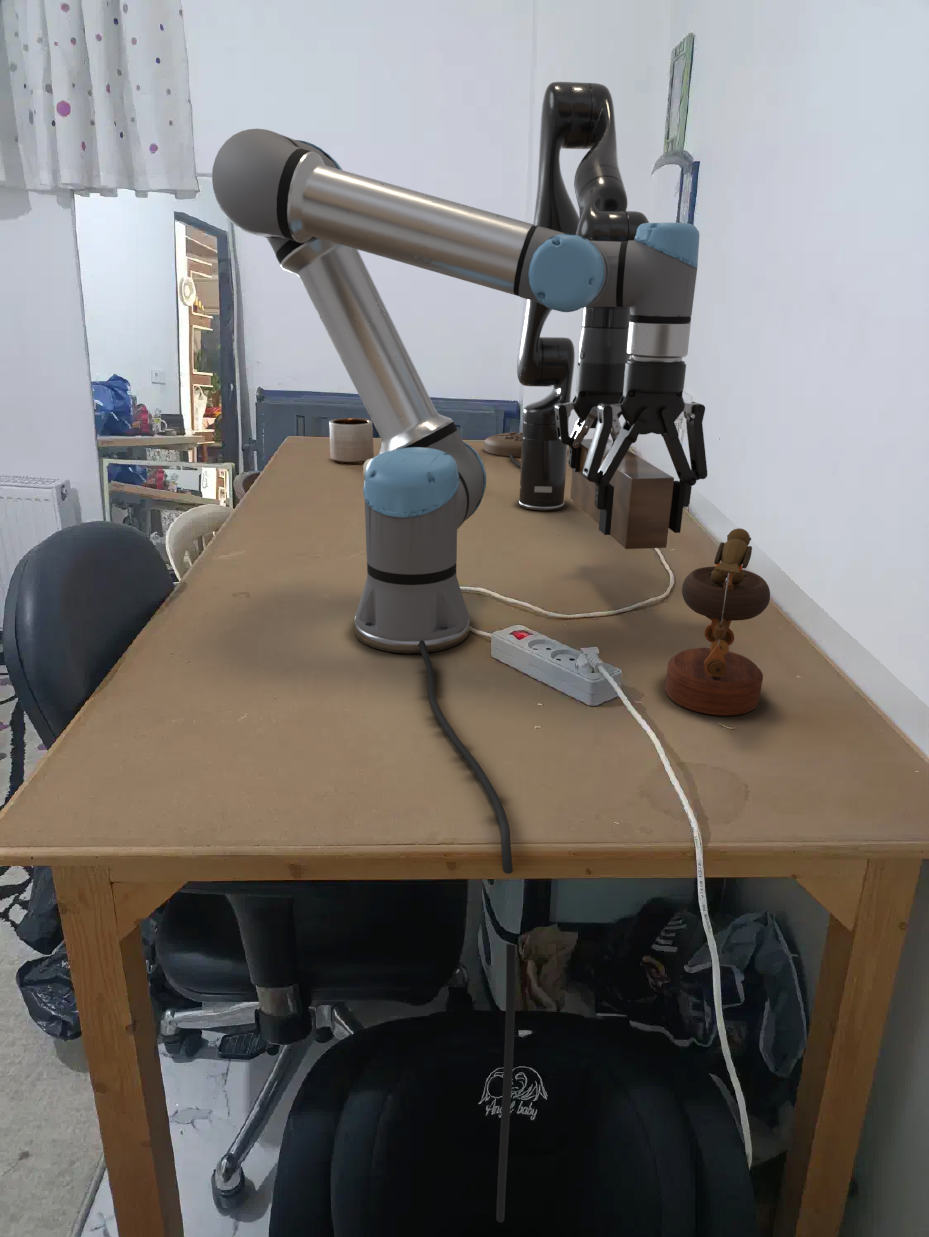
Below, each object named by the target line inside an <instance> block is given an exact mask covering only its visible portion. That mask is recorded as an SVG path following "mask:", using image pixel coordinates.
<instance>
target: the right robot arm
mask: <svg viewBox="0 0 929 1237" xmlns="http://www.w3.org/2000/svg"><path fill="white" fill-rule="evenodd" d="M614 106H615V105H614V101H613V97H612V94H611V92H610V89H609V88H608V87H607V86H606V85H604V84H601V83H596V82H579V81H578V82H576V81H553V82H550V83H549V85H548V86H547V87H546V89H545V92H544V95H543V99H542V104H541V114H540V127H539V128H540V129H539V148H538V150H539V151H538V170H537V172H538V173H537V187H536V188H537V189H536V199H535V206H534V214H533V222H532V224H533V225H535V226H539V227H544V228H548V229H551V230H555V231H559V232H562V233H569V234H574V235H578V236H580V237H584V238H586V239H588V240H589V241H613V242H622V241H631V240H635V236H636V233H637V228H638V227H639V225H641V224H644V223H650V221H649V219H648V218H647V216H646V215H645V214H644V213H642V212H641V211H635V210H628V204H629V202H628V195H627V191H626V187H625V184H624V181H623V178H622V177H623V176H622V174H621V171H620V166H619V158H618V141H617V140H618V139H617V130H616V118H615V117H616V116H615V107H614ZM563 149H565V150H588V151H587V152H586V153H585V155H584V156H583V157H582V158H581V160H580V162H579V164H578V165H577V167H576V170H575V174H574V178H573V179H574V180H573V182H574V183H573V186H574V194H575V198H576V202H577V206H578V211H579V214H578V211H577V210H576V207H575V204H574V203H573V201H572V199H571V197H570V195H569V192H568V190H567V187H566V183H565V180H564V178H563V174H562V170H561V160H560V159H561V158H560V155H561V150H563ZM552 311H553V310H552V309H549V308H547V307H546V306H545V305H543V304H540V303H538V302H535V301H532V300H528V299H525V307H524V314H523V320H522V327H521V333H520V338H519V344H518V352H517V360H516V374H517V376H516V377H517V380H518V381H519V383H520V384H521V385H522V386H525V387H542V388H543V387H545V388H546V387H548V388H549V387H552V390H551V391H550V393H549V394H548V395H546V396H545V397H543V398H542V399H540V400H537V401H534V402H531V403H528V404H527V405H525V406H524V407H523V410H522V423H521V424H522V426H521V433H522V449H521V457H520V462H518V461H517V460H516V459H515V457H513V454H510V456H509V458H510V459H511V461H512V462H513V463H514V464H515V465H516V466H518V467H519V468H520V474H519V480H520V481H519V496H518V497H519V498H518V506H520V507H521V508H523V509H527V510H530V511H540V512H541V511H542V512H543V511H545V512H546V511H547V512H548V511H550V512H551V511H557V510H561V509H563V508H564V507H565V489H566V475H567V474H566V473H567V464H568V467H570V468H571V471H572V470H573V471H574V472H579V470H580V457H581V448H579V447H580V445H581V443H582V441H583V439H585V436H587V435H588V433H589V431H590V429H596V425H597V422H598V410H597V407H598V405H599V404H600V403H605V404H612V403H619V401H620V400H621V398H622V396H623V386H624V375H625V363H626V362H627V360H628V359H631V355H628V354H627V342H628V330H629V317H630V307H592V306H585V307H583V308H582V318H581V319H582V320H581V330H580V335H579V340H578V341H579V342H578V354H577V369H576V384H575V395H574V397H573V399H572V389H573V380H574V372H575V362H576V361H575V360H576V352H575V345H574V342H573V341H572V339H571V338H569V337H562V336H561V337H560V336H541V334H542V331H543V328H544V325H545V323H546V322H547V319H548V317H549V316H550V314H551V313H552ZM571 399H572V400H571ZM572 411H574V413H575V414H576V416H577V417H578V418H577V420H576V421H575V424H574V427H573V429H572V432H571V435H570V434H569V433H570V431H569V426H570V417H571V413H572ZM621 416H623V415H622V414H621V412H619V413H618V414H617V417H616V419H615V420H614V421H613V423H612V428H611V432H610V437H611V440H612V441H613V442H615V441H616V439H617V437H618V435H619V431H620V429H621V427H622V425H621V422H620V418H621ZM637 440H638V438H637V439H636V440H635V441H633V442H632V444H635V443H636V442H637ZM567 458H568V460H567ZM567 462H568V463H567Z"/></svg>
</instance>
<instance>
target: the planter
mask: <svg viewBox="0 0 929 1237" xmlns="http://www.w3.org/2000/svg"><path fill="white" fill-rule="evenodd" d="M328 424H329V425H328V426H329V453H330V454H329V455H330V456H329V457H330V459H331V460H332V461H333V462H335V463H341V464H364V463H365V461H366V460H368V459H373V458H374V457H375V455H374V452H375V451H374V450H375V449H374V430H373V429H374V428H373V426H374V424H373V421H372V419H369V418H362V417H361V418H360V417H342V418H341V417H340V418H335V419H334V418H333V419H331V420H329V421H328Z"/></svg>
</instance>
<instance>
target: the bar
mask: <svg viewBox="0 0 929 1237" xmlns="http://www.w3.org/2000/svg"><path fill="white" fill-rule="evenodd" d="M592 439H593V438H584V439H583V441H582V443H581V445H580V447H579V448H581V457H580V470H579V472H574V471H573V470H572V469H571V482H570V494H569V495H570V497H569V498H570V499H571V500H572V501H573V502H574V503H575V504H576V505H577V506H578V507H580V509H581V510H583V511H584V513H586V514H587V515H588V516H589V517H590V518H591V519H592V520H593V521H595V523H597V524H598V525H599V519H600V509H597V508H596V507H595V504H594V498H595V483H594V482H590V481H588V480H587V479H586V478H584V477H583V475H582V472H583V468H584V465H585V462H586V458H587V455H588V452H589V448H590V445H591V442H592ZM613 444H614V442H613V440H612V439H610V438H608V442H607V445H606V448H605V451H604V454H603V458H602V461H601V464H600V467H601V465H602V463H603V462H604V460H605V458H606V456H607V455H608V453H609V451H610V449H611V448H612V446H613ZM600 467H599V469H600ZM674 481H675V478H674V477H673V476H672V475H670V474H669V473H667V472H665V471H664V470H662V469H660V468H658V467H657V466H655V465H654V464H652V463H650V462H649V461H647V460H645V459H644V458H642V457H640V456H638V455H637V454H635V453H633V452H632V451H630V450H628V451H627V453H626V455H625V456H624V458H623V460H622V461H621V463H620V465H619V467H618V468H617V470H616V472H615V474H614V475H613V477H612V479H611V480H610V482H609V484H611V485H612V486H614V497H613V509H612V520H611V532H610V535H609V536H611V537H612V538H613V539H614V540H615V541H616V542H617V543H618V544H619V545H620V546H621V547H623V549H624V550H641V549H642V550H643V549H666V548H667V543H668V534H669V528H668V527H669V519H670V510H671V501H672V492H673V484H674Z"/></svg>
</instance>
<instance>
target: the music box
mask: <svg viewBox="0 0 929 1237" xmlns="http://www.w3.org/2000/svg"><path fill="white" fill-rule="evenodd" d="M726 537H727V538H726V541H725V542H723V541H722V542H720V544H719V545H718V549H717V550H716V554H715V557H714V562H713V564H714V565H715V566H704V567H699V568H696V569H694V570H692V571H691V572H690V573H689V574H688V575H687V576H686V577H685V578H684V580H683V582H682V586H681V595H682V598H683V601H684V603H685V605H686V606H687V607H688V608H689V609H691V610H692V611H693V612H695V613H697V614H699V615H700V616H703V617H706V618H707V619H709V620H710V621H711V622H710V623H709V624H708V625H707V626H706V627H705V628H704V637H705V640H707V641H708V642H709V643H711V644H710V647H695V648H689V649H685V650H682V651H680V652H678V653H676V654H675V655H673V656H672V657H671V658H670V659H669V660H668V662H667V667H666V668H667V669H666V675H665V676H666V677H665V686H664V691H665V694H666V695H667V696H668V698H669V699H671V700H672V701H673V702H674V703H676V704H678V705H679V706H681V707H683V708H686V709H688V710H691V711H694V712H697V713H701V714H706V715H712V716H738V715H742V714H746V713H749V712H751V711H753V710H754V709H756V708H757V707H758V705H759V703H760V698H761V691H762V685H763V680H764V673H763V672H762V670H761V669H760V668H759V666H757V665H756V663H755V662H753V661H752V660H751V659H749V657H747V656H744V655H742V654H740V653H736V652H734V651H730V646H731V645H732V644H733V643H734V641H735V634H734V631H733V630H732V629H731V628H730V626H731V623H732V621H737V622H738V621H746V620H751V619H754V618H756V617H758V616H759V615H761V614H762V613H763V612H764V611H765V610H766V609H767V608H768V606H769V603H770V600H771V590H770V587H769V585H768V582H766V580H765V579H764V578H763V577H762V576H761V575H759V574H757V573H754V572H752V571H749V570H747V568H748V566H749V563H750V561H751V557H752V553H753V552H752V551H753V546H751V545H750V542H751V541H752V537H751V535H750V533H749V532H748V530H746V529H744V528H739V527H737V528H733V529H732V530H731V531H730V532H729V533H728V534H727V535H726Z"/></svg>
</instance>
